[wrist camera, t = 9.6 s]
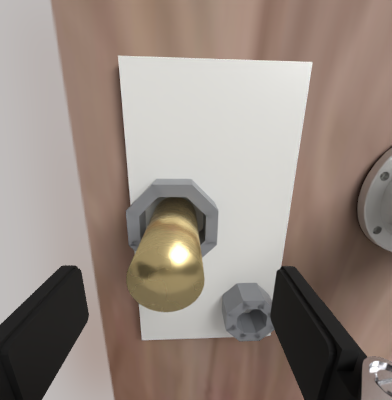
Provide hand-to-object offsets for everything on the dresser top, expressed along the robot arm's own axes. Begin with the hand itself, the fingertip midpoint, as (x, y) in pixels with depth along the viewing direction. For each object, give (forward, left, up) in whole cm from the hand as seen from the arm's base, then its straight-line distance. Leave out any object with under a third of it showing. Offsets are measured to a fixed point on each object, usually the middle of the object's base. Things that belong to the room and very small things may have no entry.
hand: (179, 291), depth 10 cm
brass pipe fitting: (+1, 0, -10) cm, 10 cm away
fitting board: (-3, 0, -11) cm, 11 cm away
